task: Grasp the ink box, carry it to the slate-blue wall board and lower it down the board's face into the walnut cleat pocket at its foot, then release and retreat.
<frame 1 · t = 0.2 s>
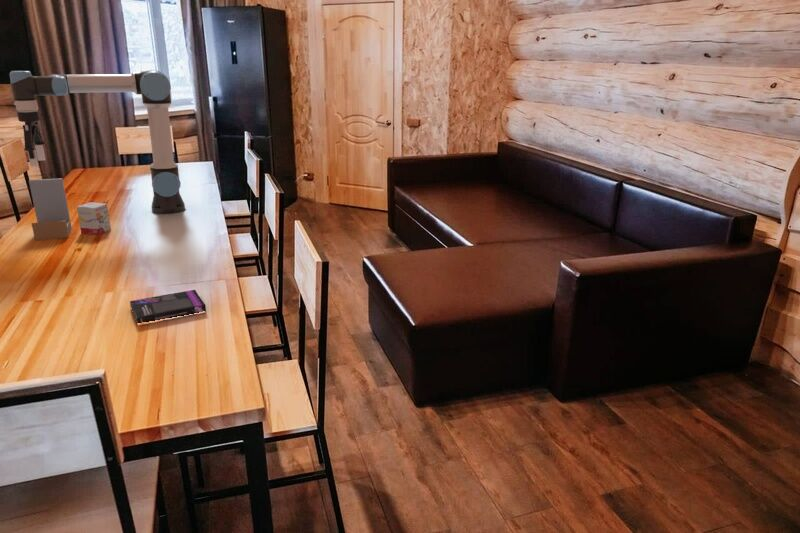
hand: (38, 163, 242), 28 cm above the table, fingers open, 13 cm apart
wall board: (55, 230, 247), on the table
ink box: (96, 231, 247), on the table
box: (168, 312, 176), on the table
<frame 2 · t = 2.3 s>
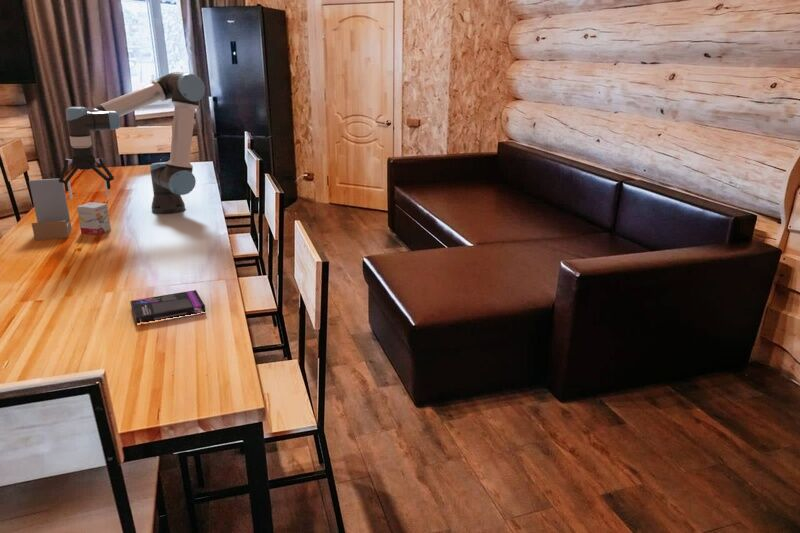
hand: (89, 197, 242), 15 cm above the table, fingers open, 13 cm apart
nothing on the table moved.
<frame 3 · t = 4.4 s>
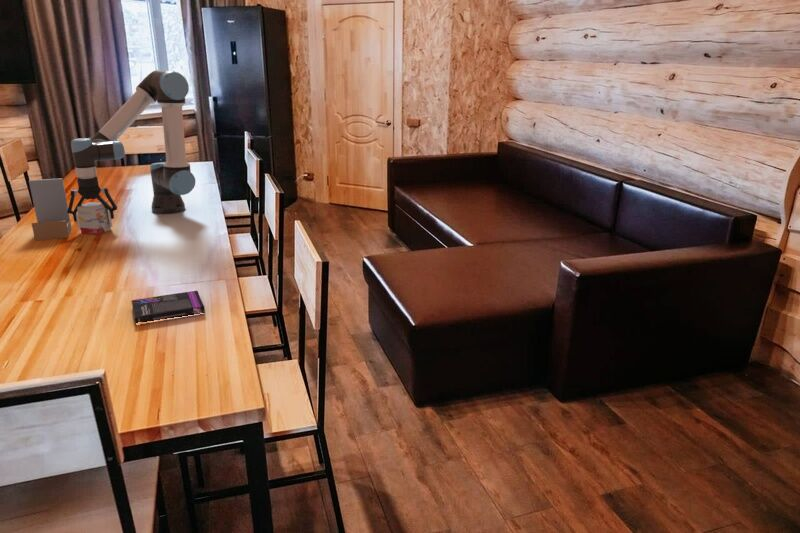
hand: (95, 227, 247), 2 cm above the table, fingers closed on ink box, 11 cm apart
ink box: (96, 231, 247), on the table, touching gripper
everything else where it was.
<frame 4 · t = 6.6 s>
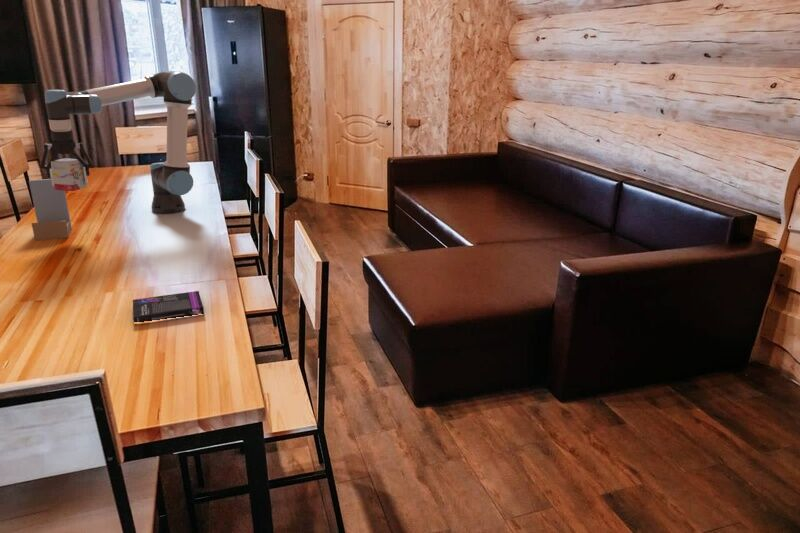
hand: (70, 184, 238), 21 cm above the table, fingers closed on ink box, 11 cm apart
ink box: (71, 189, 238), point 19 cm above the table, touching gripper
everything else where it was.
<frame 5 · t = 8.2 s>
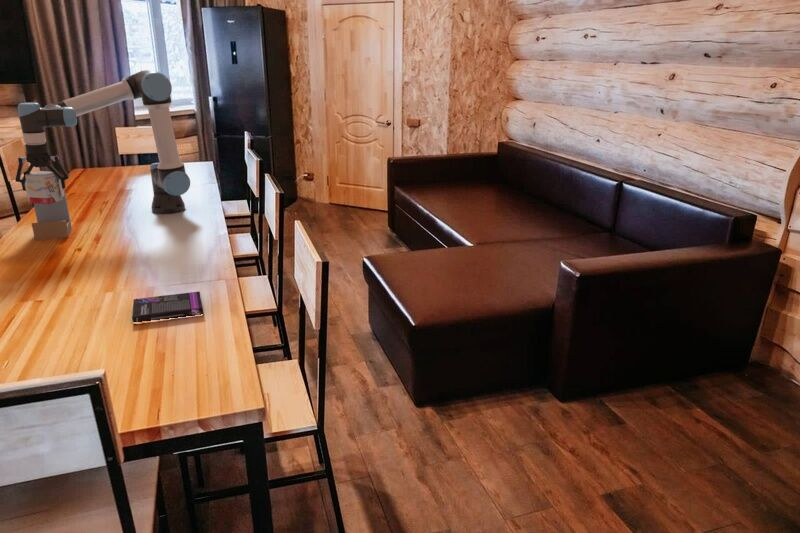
hand: (46, 197, 237), 16 cm above the table, fingers closed on ink box, 11 cm apart
ink box: (47, 201, 237), point 14 cm above the table, touching gripper
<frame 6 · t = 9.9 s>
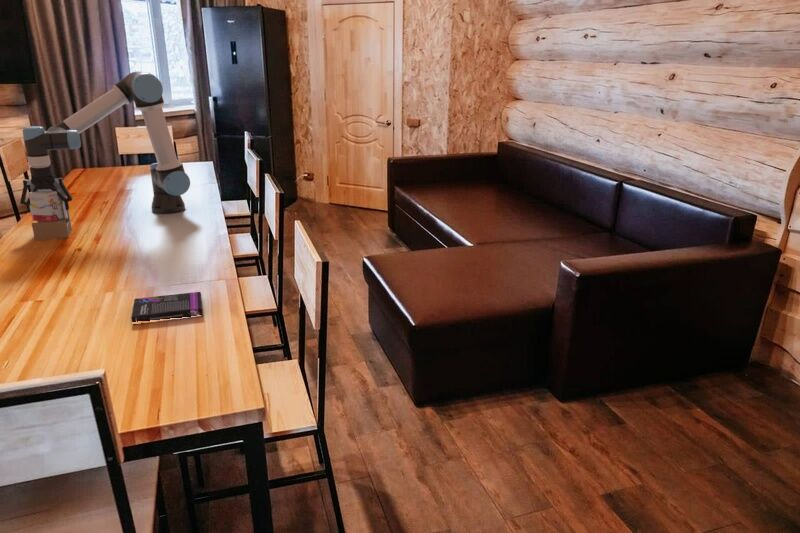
hand: (50, 218, 240), 7 cm above the table, fingers closed on ink box, 11 cm apart
ink box: (50, 219, 239), point 7 cm above the table, touching gripper, wall board
when the fingers open (7 cm above the table, at t = 10.8 s): ink box stays where it is, resting on wall board.
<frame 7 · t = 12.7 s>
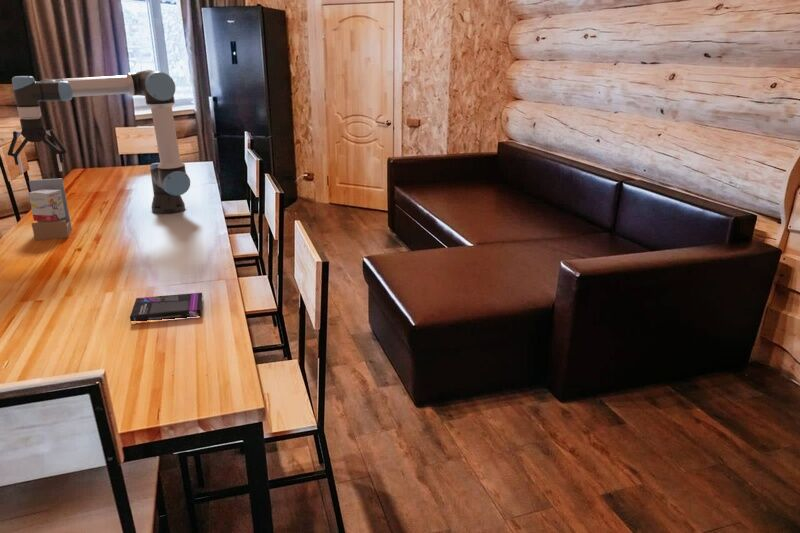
hand: (41, 171, 233), 26 cm above the table, fingers open, 13 cm apart
ink box: (50, 219, 239), point 7 cm above the table, touching wall board
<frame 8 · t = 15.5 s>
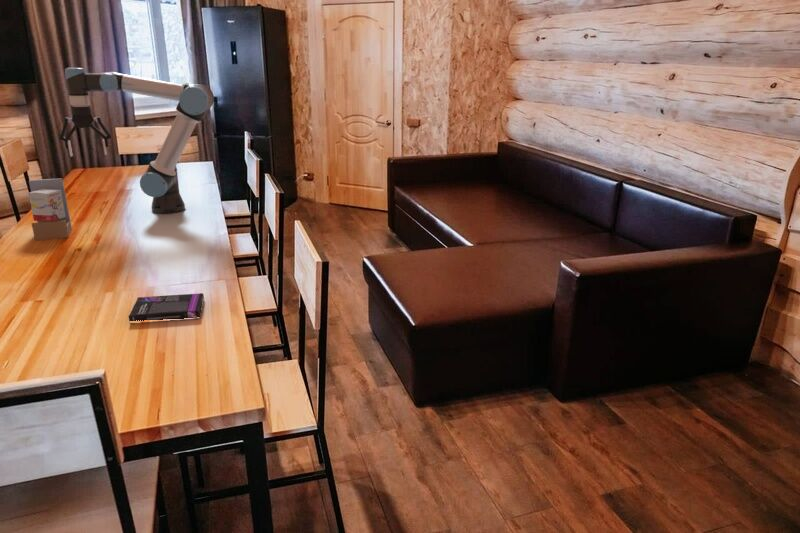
hand: (88, 155, 256), 29 cm above the table, fingers open, 13 cm apart
at the end: ink box inside the target area on the wall board (0.3 cm from its centre), point 6.7 cm above the wall board's base; ink box tilted 1°; the gripper is holding nothing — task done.
